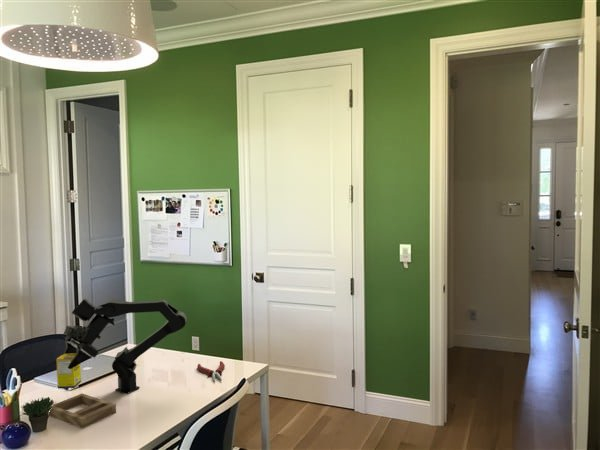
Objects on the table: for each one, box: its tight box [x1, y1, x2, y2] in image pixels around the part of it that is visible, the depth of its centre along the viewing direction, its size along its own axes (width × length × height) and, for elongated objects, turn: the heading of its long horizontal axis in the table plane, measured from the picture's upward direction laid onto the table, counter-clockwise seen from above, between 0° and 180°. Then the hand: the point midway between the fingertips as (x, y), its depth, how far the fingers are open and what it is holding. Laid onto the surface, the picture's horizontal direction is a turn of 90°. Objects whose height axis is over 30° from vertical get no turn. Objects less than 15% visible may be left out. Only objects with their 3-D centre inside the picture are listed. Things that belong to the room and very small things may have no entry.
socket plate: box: [48, 393, 117, 429], centre depth 163 cm, size 18×13×3 cm
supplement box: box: [55, 353, 82, 389], centre depth 173 cm, size 6×6×11 cm
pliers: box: [196, 360, 226, 383], centre depth 200 cm, size 12×20×3 cm, turn 20°
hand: (64, 365), depth 172 cm, fingers closed on supplement box, 8 cm apart
